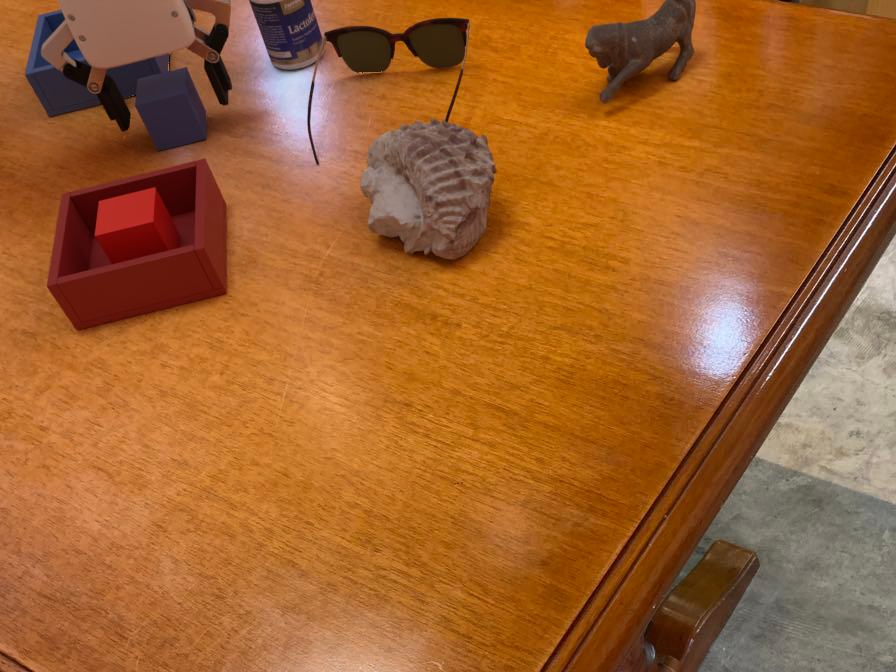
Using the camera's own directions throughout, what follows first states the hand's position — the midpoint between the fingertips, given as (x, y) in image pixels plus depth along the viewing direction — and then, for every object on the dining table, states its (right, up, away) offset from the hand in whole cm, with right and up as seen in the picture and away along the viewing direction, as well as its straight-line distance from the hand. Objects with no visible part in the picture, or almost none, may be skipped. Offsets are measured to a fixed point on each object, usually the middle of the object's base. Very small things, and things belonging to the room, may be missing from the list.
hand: (175, 110), depth 98 cm
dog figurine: (+44, +1, -4) cm, 44 cm away
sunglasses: (+21, -1, -2) cm, 21 cm away
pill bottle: (+10, +8, +7) cm, 15 cm away
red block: (+2, -17, -11) cm, 20 cm away
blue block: (0, -1, +2) cm, 2 cm away
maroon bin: (+2, -17, -10) cm, 20 cm away
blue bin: (-11, +9, +11) cm, 18 cm away
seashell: (+26, -14, -12) cm, 32 cm away
